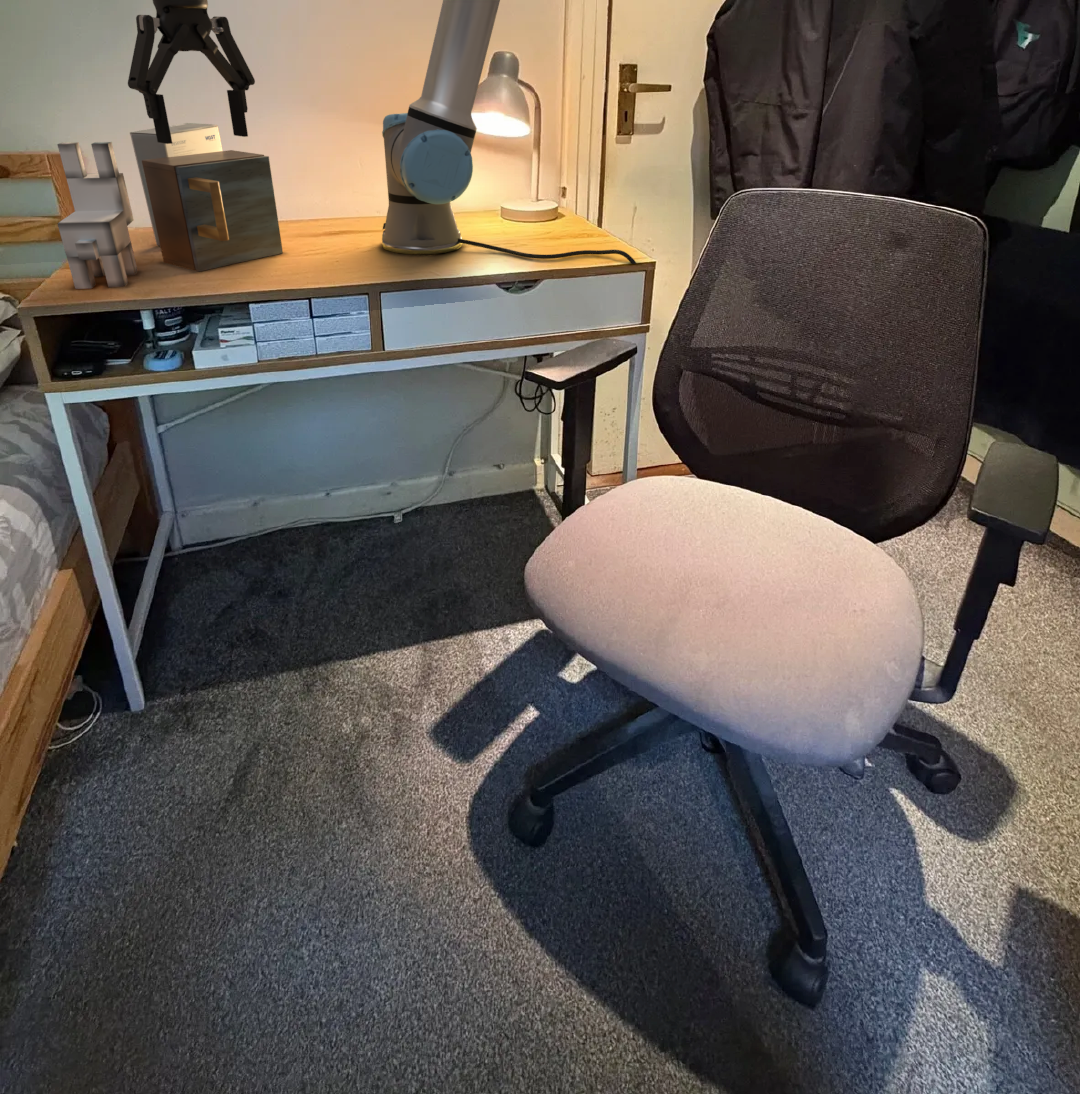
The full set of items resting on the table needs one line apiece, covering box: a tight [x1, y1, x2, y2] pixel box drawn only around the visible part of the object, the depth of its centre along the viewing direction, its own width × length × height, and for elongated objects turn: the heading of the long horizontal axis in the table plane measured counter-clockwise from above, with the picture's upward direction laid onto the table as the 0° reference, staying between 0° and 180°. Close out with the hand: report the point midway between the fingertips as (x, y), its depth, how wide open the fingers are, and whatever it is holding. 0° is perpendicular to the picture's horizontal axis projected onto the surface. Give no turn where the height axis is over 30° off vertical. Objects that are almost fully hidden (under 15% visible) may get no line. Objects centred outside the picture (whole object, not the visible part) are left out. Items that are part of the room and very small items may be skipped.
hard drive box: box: [129, 122, 224, 247], centre depth 161 cm, size 16×8×20 cm, turn 159°
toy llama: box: [57, 141, 139, 290], centre depth 136 cm, size 8×18×20 cm, turn 11°
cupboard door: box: [175, 155, 284, 272], centre depth 145 cm, size 8×18×16 cm, turn 143°
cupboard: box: [142, 149, 265, 272], centre depth 150 cm, size 10×18×17 cm, turn 143°
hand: (204, 139), depth 132 cm, fingers open, 13 cm apart
